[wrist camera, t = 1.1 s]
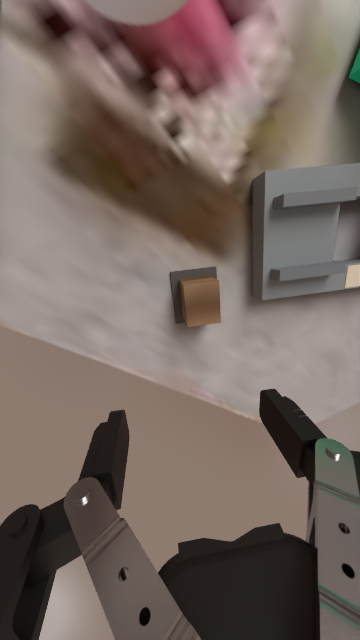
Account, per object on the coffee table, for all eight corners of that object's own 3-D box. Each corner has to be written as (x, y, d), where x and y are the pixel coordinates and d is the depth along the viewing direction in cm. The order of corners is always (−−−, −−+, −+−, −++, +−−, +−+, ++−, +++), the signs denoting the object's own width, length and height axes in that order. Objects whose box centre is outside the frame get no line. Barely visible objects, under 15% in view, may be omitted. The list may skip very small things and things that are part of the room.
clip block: (178, 279, 28) (183, 285, 23) (209, 275, 28) (218, 280, 24) (182, 315, 29) (187, 327, 25) (211, 311, 30) (220, 322, 25)
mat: (170, 272, 28) (170, 272, 27) (215, 266, 28) (216, 266, 28) (176, 322, 30) (176, 323, 30) (217, 317, 30) (218, 317, 30)
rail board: (252, 179, 25) (281, 159, 20) (392, 167, 27) (456, 145, 21) (252, 295, 30) (274, 306, 24) (370, 279, 31) (418, 286, 26)
